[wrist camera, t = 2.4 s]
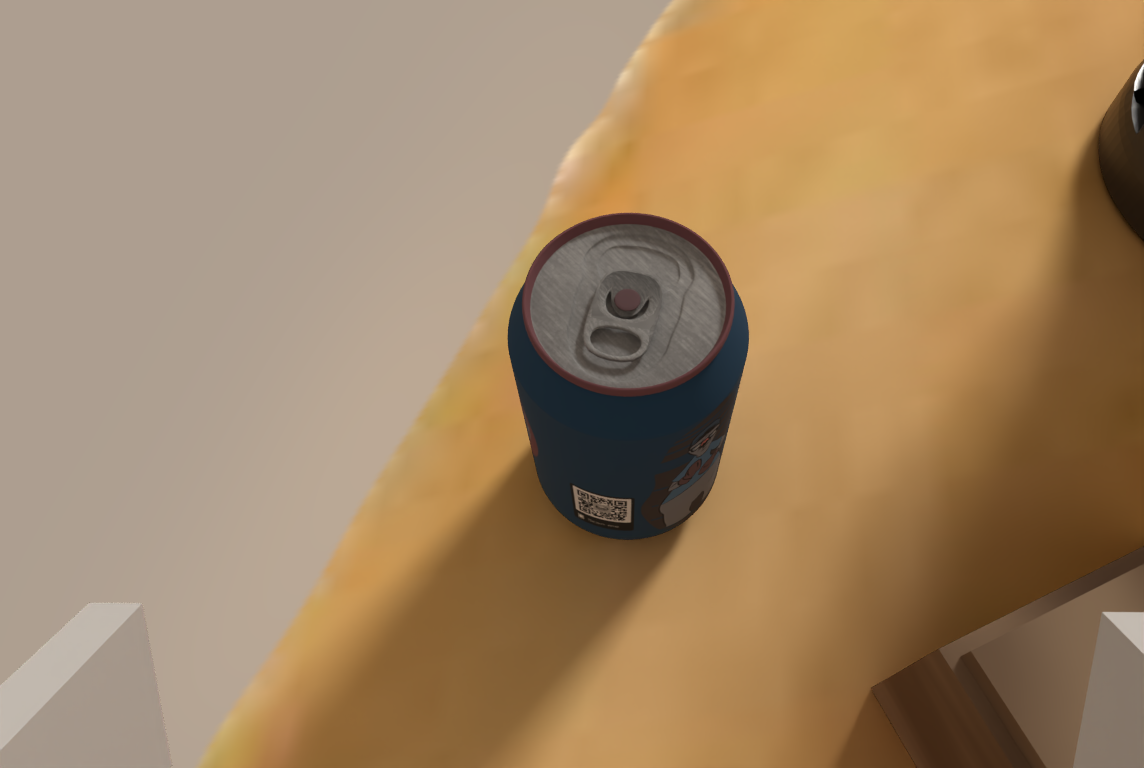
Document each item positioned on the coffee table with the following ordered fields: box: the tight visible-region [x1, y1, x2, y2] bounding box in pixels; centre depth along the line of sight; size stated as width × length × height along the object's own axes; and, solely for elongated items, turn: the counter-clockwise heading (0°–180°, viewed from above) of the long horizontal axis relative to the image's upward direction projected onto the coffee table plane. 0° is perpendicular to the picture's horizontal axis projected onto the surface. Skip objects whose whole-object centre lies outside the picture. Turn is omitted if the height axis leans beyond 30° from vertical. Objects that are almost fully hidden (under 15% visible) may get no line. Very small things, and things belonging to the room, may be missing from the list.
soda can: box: [508, 213, 749, 540], centre depth 29 cm, size 7×7×12 cm
